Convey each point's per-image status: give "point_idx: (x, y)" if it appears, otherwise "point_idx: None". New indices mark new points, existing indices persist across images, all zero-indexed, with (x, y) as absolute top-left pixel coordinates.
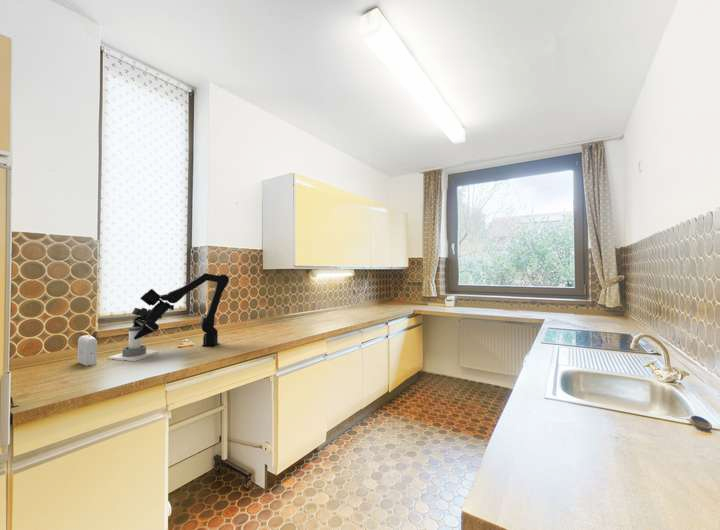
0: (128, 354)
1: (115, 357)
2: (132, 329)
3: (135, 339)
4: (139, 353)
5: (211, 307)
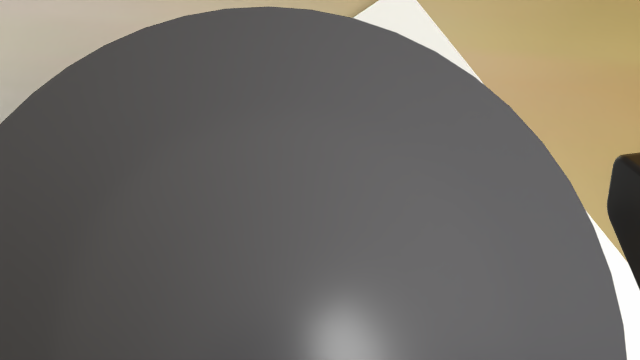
0: None
1: None
2: (8, 164)
3: None
4: None
5: None
